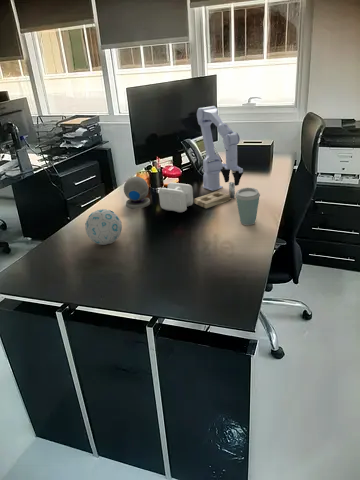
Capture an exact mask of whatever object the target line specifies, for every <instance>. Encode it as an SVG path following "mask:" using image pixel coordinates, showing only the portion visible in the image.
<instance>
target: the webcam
mask: <svg viewBox="0 0 360 480" xmlns="http://www.w3.org/2000/svg"><path fill="white" fill-rule="evenodd" d="M123 192H124V195H125V197H126V198H127V200H126V202H125V206H126V208H128V209H143V208H145V207H148V206H149V205H150V204H151V199H150V198H149V197H147V196H148V193H149V184H148V183H147V181H146V180H145V178H142V177H140V176H132V177H129V178H128V179H127V180H126V181H125V183H124V184H123Z"/></svg>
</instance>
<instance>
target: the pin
mask: <svg viewBox="0 0 360 480" xmlns="http://www.w3.org/2000/svg"><path fill="white" fill-rule="evenodd" d="M235 189H236V187H235V183H234V181H233V182H232V181H229V182H228V195H230V198H233V199H236V197H235V194H236V191H235Z"/></svg>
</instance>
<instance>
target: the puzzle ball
mask: <svg viewBox="0 0 360 480" xmlns="http://www.w3.org/2000/svg"><path fill="white" fill-rule="evenodd" d="M122 224H123V223H122V221H121V219H120V217H119V215H117V214H116V213H115V212H114V211H113V210H110V209H107V208H102V209H97V210H95V211H93V212H91V213H90V214H89V216H88V217H87V219H86V221H85V233H86V234H87V237H88V238H89V240H91V241H92V242H93V243H94V244H95V243H96V244H97V245H100V246H106V245H110V244H112V243H114V242H115V241H116V240H118V238H119V237H120V236H121V233H122V228H123V225H122Z"/></svg>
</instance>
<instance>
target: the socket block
mask: <svg viewBox="0 0 360 480" xmlns="http://www.w3.org/2000/svg"><path fill="white" fill-rule="evenodd" d="M228 201H229V202H230V201H231V199H230V195H229V194H227V193H225V192H221V191H219V190H217V191H216V190H215V191H212V192H210V193H208V194H205V195H202V196H198V197H196V198H193V204H196V205H197V206H199V207H201V208H204V209H209V208H211V207H214V206H217V205H220V204H223V203H225V202H226V203H227V202H228Z"/></svg>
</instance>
